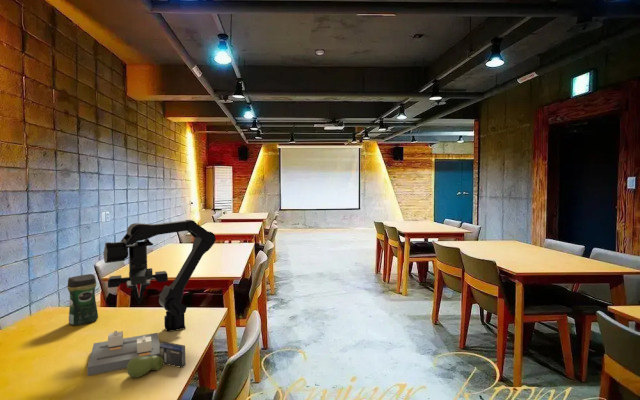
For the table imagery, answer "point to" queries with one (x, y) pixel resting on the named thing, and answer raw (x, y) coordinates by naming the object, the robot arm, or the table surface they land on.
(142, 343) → the tab
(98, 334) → the table surface
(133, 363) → the pear
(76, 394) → the table surface
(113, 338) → the tab
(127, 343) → the switch panel
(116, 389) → the table surface
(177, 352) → the mini dv tape
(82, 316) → the coffee jar
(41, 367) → the table surface
